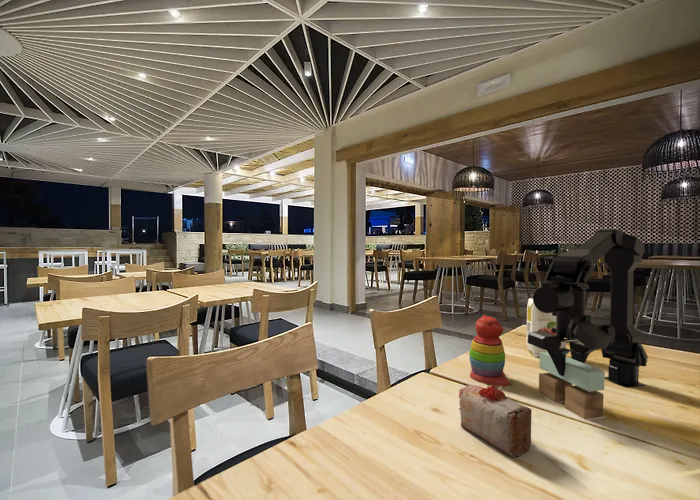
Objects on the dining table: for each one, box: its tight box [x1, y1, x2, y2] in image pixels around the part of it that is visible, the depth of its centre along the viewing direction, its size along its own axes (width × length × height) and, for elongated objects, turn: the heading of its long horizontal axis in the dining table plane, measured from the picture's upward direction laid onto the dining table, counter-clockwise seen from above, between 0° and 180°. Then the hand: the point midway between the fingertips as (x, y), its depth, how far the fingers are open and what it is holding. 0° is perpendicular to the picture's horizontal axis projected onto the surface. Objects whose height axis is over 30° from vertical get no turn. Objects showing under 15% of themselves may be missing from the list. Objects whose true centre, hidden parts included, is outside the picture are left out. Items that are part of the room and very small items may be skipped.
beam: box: [539, 352, 606, 392], centre depth 81 cm, size 14×4×4 cm, turn 12°
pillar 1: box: [538, 372, 573, 403], centre depth 85 cm, size 5×5×5 cm
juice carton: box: [526, 297, 556, 358], centre depth 118 cm, size 8×9×19 cm
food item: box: [458, 384, 532, 458], centre depth 68 cm, size 14×8×10 cm, turn 29°
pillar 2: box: [564, 385, 604, 420], centre depth 77 cm, size 5×5×5 cm
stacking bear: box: [469, 314, 511, 388], centre depth 96 cm, size 11×10×18 cm
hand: (569, 374), depth 81 cm, fingers closed on beam, 4 cm apart
